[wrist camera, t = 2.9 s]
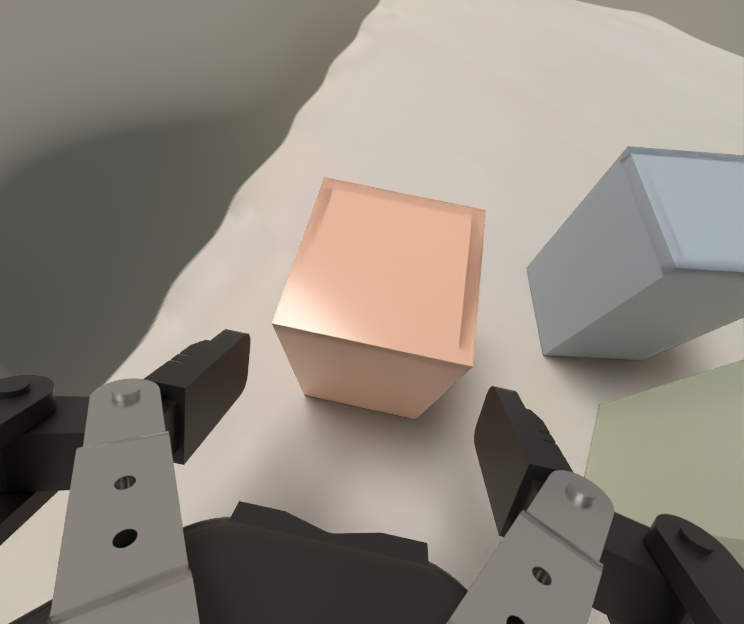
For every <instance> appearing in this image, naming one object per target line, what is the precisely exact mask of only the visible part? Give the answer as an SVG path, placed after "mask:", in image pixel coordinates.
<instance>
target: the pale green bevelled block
mask: <svg viewBox="0 0 744 624" xmlns="http://www.w3.org/2000/svg"><path fill="white" fill-rule="evenodd" d="M585 478H586V479H588V480H590V481H591V482H593V483H594V484H596V485H597V486H598V487H599V488H600V489H602V490H603V491H604V492H605V493H606V495H607V496H608V497H609V498H610V500H611V501H612V503H613V506H614V510H615V511H614V512H616V513H619V514H621V515H623V516H625V517H628V518H630V519H632V520H634V521H637V522H639V523H641V524H644V525H646V526H648V527H651V525H652V523H653V522H654V520H655V518H656V517H657V516H658V515H660V514H671V515H675V516H678V517H681V518H683V519H686V520H688V521H690V522H692V523H694V524H695V525H697V526H699V527H700V528H702V529H703V530H705V531H706V532H708V533H709V534H710V535H712V536H713V537H714V538H715V539H717V540H718V541H719V542H720V543H721V544H722V545H723V546H724V547H725V548H726V549H727V550H728V551H729V552H730V553H731V555H732V556H733V557H734V558H735V559H736V561H737V562H738V563H739V564H740V565H741V566H742V568H743V569H744V360H740V361H737V362H734V363H731V364H728V365H724V366H721V367H718V368H715V369H712V370H709V371H705V372H702V373H699V374H696V375H693V376H690V377H686V378H683V379H680V380H677V381H674V382H671V383H667V384H664V385H661V386H658V387H655V388H652V389H648V390H645V391H642V392H639V393H636V394H632V395H629V396H626V397H623V398H620V399H617V400H613V401H610V402H607V403H604V404H601V405H599V410H598V415H597V420H596V424H595V429H594V434H593V439H592V444H591V449H590V454H589V458H588V463H587V468H586V473H585Z"/></svg>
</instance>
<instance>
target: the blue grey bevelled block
mask: <svg viewBox="0 0 744 624" xmlns="http://www.w3.org/2000/svg"><path fill="white" fill-rule="evenodd" d="M527 272H528V277H529V283H530V288H531V293H532V299H533V304H534V310H535V315H536V320H537V326H538V331H539V336H540V342H541V347H542V352H543V355H547V356H568V357H589V358H609V359H630V360H644V359H646V358H649V357H651V356H653V355H656V354H658V353H661V352H663V351H665V350H668V349H670V348H672V347H675V346H677V345H680V344H682V343H684V342H687V341H689V340H692V339H694V338H696V337H699V336H701V335H703V334H706V333H708V332H711V331H713V330H715V329H718V328H720V327H722V326H725V325H727V324H730V323H732V322H734V321H737V320H739V319H741V318H744V155H732V154H719V153H707V152H694V151H681V150H668V149H656V148H643V147H630V146H628V147H627V148H626V149H625V150H624V152H623V153H622V154H621V155H620V156H619V158H618V159H617V160H616V161H615V162H614V164H613V165H612V166H611V167H610V168H609V170H608V171H607V172H606V173H605V174H604V176H603V177H602V178H601V179H600V180H599V182H598V183H597V184H596V185H595V186H594V188H593V189H592V190H591V191H590V192H589V194H588V195H587V196H586V197H585V198H584V200H583V201H582V202H581V203H580V204H579V206H578V207H577V208H576V209H575V210H574V212H573V213H572V214H571V215H570V216H569V217H568V219H567V220H566V221H565V222H564V223H563V225H562V226H561V227H560V228H559V229H558V231H557V232H556V233H555V234H554V235H553V237H552V238H551V239H550V240H549V241H548V243H547V244H546V245H545V246H544V247H543V249H542V250H541V251H540V252H539V253H538V255H537V256H536V257H535V258H534V259H533V261H532V262H531V263H530V264H529V265H528V267H527Z"/></svg>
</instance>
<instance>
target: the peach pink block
mask: <svg viewBox="0 0 744 624" xmlns="http://www.w3.org/2000/svg"><path fill="white" fill-rule="evenodd" d="M485 214H486V210H482V209H478V208H473V207H468V206H463V205H458V204H453V203H448V202H443V201H438V200H433V199H428V198H424V197H419V196H414V195H409V194H404V193H399V192H394V191H389V190H384V189H379V188H374V187H370V186H365V185H360V184H355V183H350V182H345V181H340V180H335V179H330V178H325V177H324V180H323V182H322V185H321V188H320V191H319V193H318V196H317V199H316V202H315V205H314V207H313V210H312V213H311V216H310V219H309V221H308V224H307V227H306V230H305V232H304V235H303V238H302V241H301V244H300V246H299V249H298V252H297V255H296V258H295V260H294V263H293V266H292V269H291V271H290V274H289V277H288V280H287V283H286V285H285V288H284V291H283V294H282V297H281V299H280V302H279V305H278V308H277V310H276V313H275V316H274V319H273V322H272V325H273V327H274V329H275V331H276V333H277V336H278V338H279V340H280V342H281V344H282V347H283V349H284V351H285V353H286V355H287V358H288V360H289V362H290V364H291V367H292V369H293V371H294V373H295V375H296V378H297V380H298V382H299V384H300V386H301V389H302V391H303V393H304V395H307V396H312V397H316V398H321V399H325V400H330V401H334V402H339V403H343V404H348V405H353V406H357V407H362V408H366V409H371V410H375V411H380V412H384V413H389V414H393V415H398V416H402V417H407V418H411V419H417V418H418V417H419V416H420V415H421V414H422V413H423V412H424V411H426V410H427V409H428V408H429V407H430V406H431V405H432V404H433V403H434V402H435V401H436V400H437V399H439V398H440V397H441V396H442V395H443V394H444V393H445V392H446V391H447V390H448V389H449V388H450V387H451V386H453V385H454V384H455V383H456V382H457V381H458V380H459V379H460V378H461V377H462V376H463V375H464V374H465V373H467V372H468V371H469V370H470V369H471V368H472V367H473V359H474V347H475V335H476V323H477V311H478V299H479V286H480V274H481V262H482V250H483V238H484V226H485Z"/></svg>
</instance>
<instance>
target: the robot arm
mask: <svg viewBox="0 0 744 624" xmlns="http://www.w3.org/2000/svg"><path fill="white" fill-rule="evenodd" d="M249 353H250V335H249V334H247V333H242V332H237V331H232V330H228V329H225V330H224V331H222V332H221V333H220V334H218V335H217V336H216V337H214V338H213V339H212V340H211V341H209V340H204V341H201V342H198V343H195V344H192V345H190V346H189V347H187V348H186V349H185V350H183V351H182V352H180V354H178V355H176V356H175V357H173V358H172V359H171V361H168V362H166V363H165V364H164V365H162V366H161V367H159V368H158V369H157V370H155V371H154V372H153V373H151V374H150V375H148V376H147V377H146V378H144V379H123V380H118V381H114V382H110V383H108V384H105V385H103V386H101V387H99V388H98V389H96V390H95V391H94V392H93V393H92V394H91V396H90V397H64V396H55V389H54V383H53V382H52V380H50V379H49V378H46V377H42V376H36V375H21V376H13V377H7V378H3V379H0V545H1V544H2V543H4V542H5V541H6V540H7V539H8V538H9V537H10V536H11V535H12V534H13V533H14V532H15V531H16V530H17V529H18V528H19V527H21V526H22V525H23V524H24V523H25V522H26V521H27V520H28V519H29V518H30V517H31V516H32V515H33V514H34V513H35V512H37V511H38V510H39V509H40V508H41V507H42V506H43V505H44V504H45V503H46V502H47V501H48V500H49V499H50V498H51V497H52V496H54V495H55V494H56V493H57V492H58V491H60V490H70V493H69V499H68V505H67V512H66V518H65V525H64V531H63V537H62V544H61V550H60V556H59V563H58V569H57V576H56V582H55V588H54V595H53V599H52V600H50V601H48V602H46V603H45V604H43V605H41V606H39V607H38V608H36V609H34V610H32V611H30V612H29V613H27V614H25V615H23V616H21V617H20V618H18V619H16V620H14V621H12V622H11V623H9V624H587V622H588V619H589V615H590V612H591V608H594V609H596V610H598V611H600V612H602V613H604V614H606V615H607V617H608V619H609V622H610V624H744V569H743V568H742V566H741V565H740V564H739V563H738V562H737V561H736V559H735V558H734V557H733V556H732V555H731V553H730V552H729V551H728V550H727V549H726V548H725V547H724V546H723V545H722V544H721V543H720V542H719V541H718V540H717V539H715V538H714V537H713V536H712V535H710V534H709V533H708V532H706V531H705V530H703V529H702V528H700V527H699V526H697V525H695V524H694V523H692V522H690V521H688V520H686V519H683V518H681V517H678V516H675V515H671V514H660V515H658V516H657V517H656V518H655V520H654V522H653V523H652V525H651V527H648V526H646V525H644V524H641V523H639V522H637V521H634V520H632V519H630V518H628V517H625V516H623V515H621V514H619V513H616V512H614V511H615V510H614V506H613V503H612V501H611V500H610V498H609V497H608V496H607V495H606V493H605V492H604V491H603V490H602V489H600V488H599V487H598V486H597V485H596V484H594V483H593V482H591V481H590V480H588V479H586V478H585V477H583V476H581V475H578V474H576V473H573V471H572V469H571V468H570V466H569V464H568V462H567V461H566V459H565V457H564V456H563V454H562V452H561V451H560V449H559V447H558V446H557V445H556V444H555V441H554V439H553V437H552V436H551V435H550V434H549V433H550V432H549V431H548V429H547V427H546V426H545V424H544V422H543V421H542V420H541V419H540V418H539V417H538V416H537V415H536V414H535V413H533V412H532V411H531V410H530V409H526V408H525V406H524V404H523V403H522V401H521V399H520V397H519V395H518V394H517V392H516V391H513V390H508V389H503V388H499V387H494V386H492V387H490V389H489V390H488V393H487V395H486V398H485V401H484V404H483V407H482V410H481V413H480V416H479V419H478V422H477V425H476V428H475V434H474V444H475V449H476V452H477V456H478V460H479V463H480V467H481V471H482V474H483V478H484V482H485V486H486V489H487V493H488V497H489V500H490V504H491V508H492V511H493V515H494V519H495V523H496V526H497V530H498V534H499V536H502V537H504V538H503V540H502V541H501V543H500V544H499V546H498V547H497V549H496V550H495V552H494V553H493V555H492V556H491V558H490V559H489V561H488V562H487V564H486V565H485V567H484V568H483V570H482V571H481V573H480V574H479V576H478V577H477V579H476V580H475V582H474V583H473V585H472V586H471V588H470V589H469V591H468V590H467V589H466V588H465V587H464V586H462V585H461V584H460V583H459V582H458V581H457V580H456V579H455V578H453V577H452V576H451V575H450V574H448V573H447V572H446V571H444V570H443V569H441V568H439V567H438V566H436V565H435V564H433V563H431V562H429V561H428V547H427V543H424V542H420V541H415V540H411V539H407V538H402V537H398V536H393V535H389V534H384V533H344V534H333V533H328V532H326V531H324V530H322V529H320V528H317V527H315V526H313V525H311V524H309V523H307V522H305V521H303V520H301V519H299V518H297V517H295V516H293V515H291V514H289V513H287V512H285V511H281V510H277V509H272V508H268V507H263V506H259V505H254V504H250V503H245V502H241V501H239V503H238V505H237V507H236V508H235V510H234V512H233V514H232V516H231V517H222V518H214V519H209V520H204V521H200V522H197V523H194V524H191V525H188V526H185V527H183V526H182V519H181V513H180V506H179V499H178V492H177V485H176V478H175V471H174V464H173V463H178V464H182V465H184V464H185V463H186V462H187V461H188V459H189V458H190V457H191V456H192V454H193V453H194V452H195V451H196V449H197V448H198V447H199V446H200V444H201V443H202V442H203V441H204V440H205V438H206V437H207V436H208V435H209V433H210V432H211V431H212V430H213V428H214V427H215V426H216V425H217V423H218V422H219V421H220V420H221V419H222V417H223V416H224V415H225V414H226V412H227V411H228V410H229V409H230V407H231V406H232V405H233V404H234V402H235V401H236V400H237V399H238V398H239V396H240V395H241V394H242V392H243V390H244V388H245V385H246V381H247V376H248V365H249Z"/></svg>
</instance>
